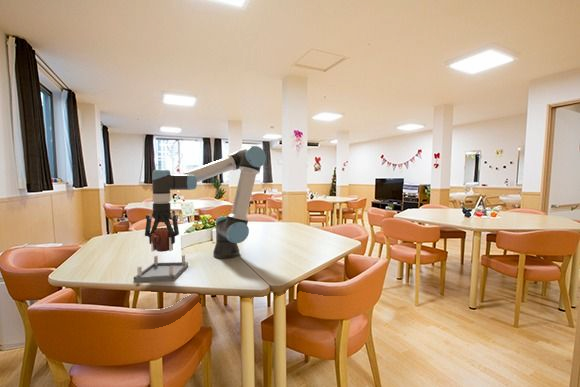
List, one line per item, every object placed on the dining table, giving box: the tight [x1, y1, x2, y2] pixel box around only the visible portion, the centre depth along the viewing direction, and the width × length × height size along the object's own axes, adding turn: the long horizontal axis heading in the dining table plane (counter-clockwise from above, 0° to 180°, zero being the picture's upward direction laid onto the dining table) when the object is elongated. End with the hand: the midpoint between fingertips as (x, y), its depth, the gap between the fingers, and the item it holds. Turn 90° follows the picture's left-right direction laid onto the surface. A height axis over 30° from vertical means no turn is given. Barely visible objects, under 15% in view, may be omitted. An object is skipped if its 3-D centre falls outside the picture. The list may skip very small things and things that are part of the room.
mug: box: [151, 226, 171, 253], centre depth 124 cm, size 12×9×10 cm
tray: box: [133, 254, 189, 283], centre depth 125 cm, size 17×20×6 cm
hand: (162, 250), depth 124 cm, fingers closed on mug, 7 cm apart
